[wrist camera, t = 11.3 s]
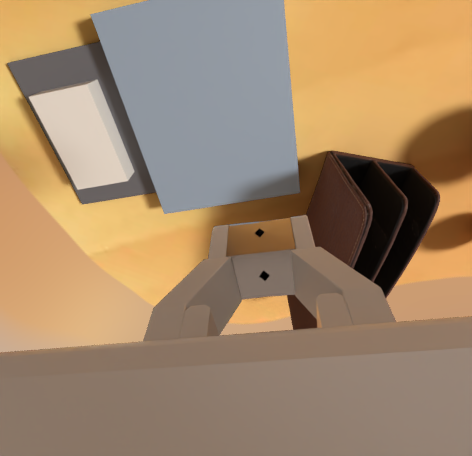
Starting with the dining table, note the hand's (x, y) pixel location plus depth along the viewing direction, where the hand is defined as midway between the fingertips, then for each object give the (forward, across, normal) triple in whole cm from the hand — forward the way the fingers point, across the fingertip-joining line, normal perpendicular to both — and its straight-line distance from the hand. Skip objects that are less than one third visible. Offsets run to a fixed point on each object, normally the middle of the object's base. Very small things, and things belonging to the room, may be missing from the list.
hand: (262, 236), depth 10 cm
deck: (+26, +5, +3) cm, 26 cm away
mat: (+26, +18, +3) cm, 31 cm away
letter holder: (+26, -8, +20) cm, 34 cm away
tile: (+25, +18, +3) cm, 31 cm away
